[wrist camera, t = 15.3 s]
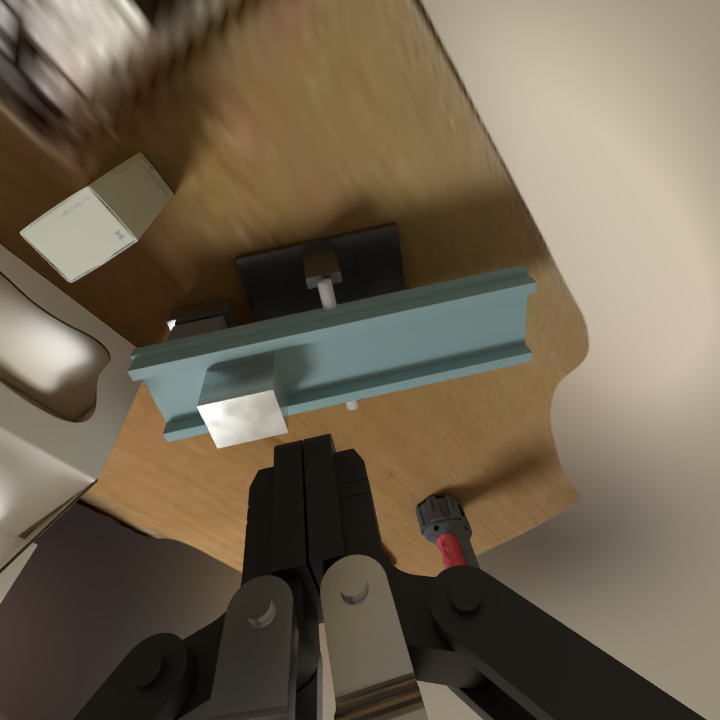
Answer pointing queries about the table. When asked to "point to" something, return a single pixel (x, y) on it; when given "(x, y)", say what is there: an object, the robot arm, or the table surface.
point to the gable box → (52, 406)
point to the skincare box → (100, 219)
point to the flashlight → (447, 530)
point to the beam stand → (310, 275)
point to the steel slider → (244, 402)
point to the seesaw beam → (348, 345)
